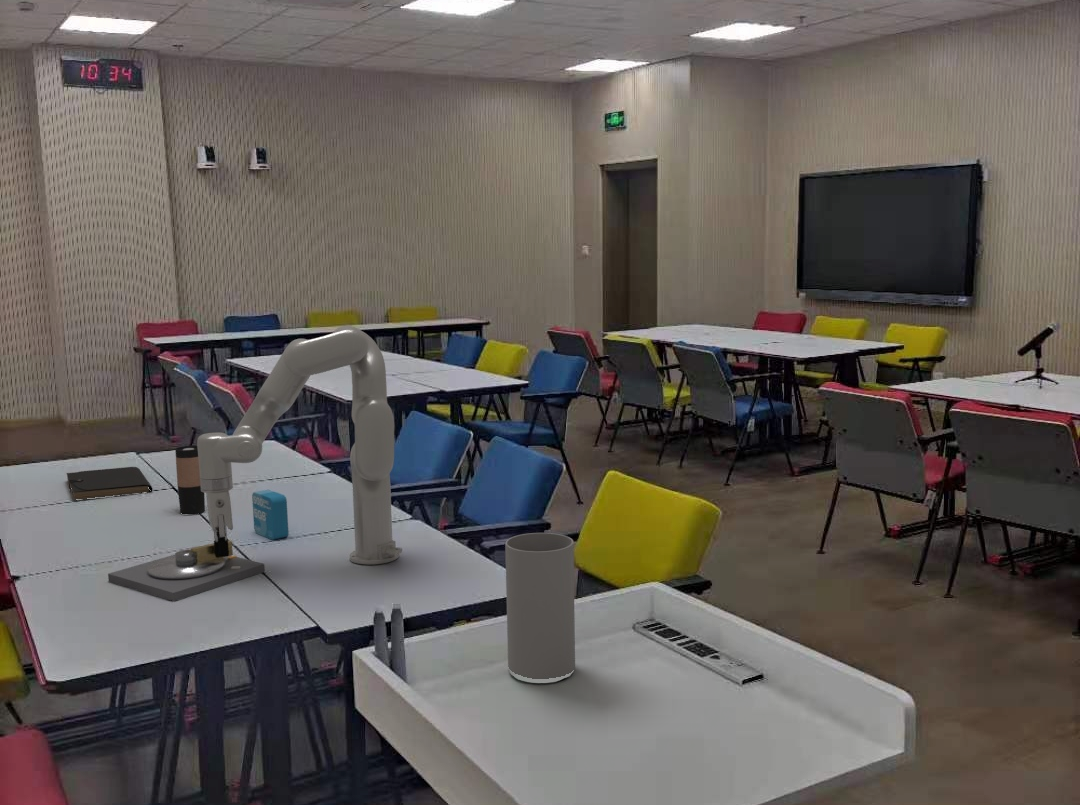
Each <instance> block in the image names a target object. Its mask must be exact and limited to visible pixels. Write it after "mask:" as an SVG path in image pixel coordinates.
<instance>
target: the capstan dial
mask: <svg viewBox="0 0 1080 805" xmlns="http://www.w3.org/2000/svg"><path fill="white" fill-rule="evenodd" d="M227 540H228V548H229V556H234V554H233V541H232V540H230V539H227ZM174 555H175V556H171V555H170V556H171V557H168V556H166V557H167V558H164V557H162V558H163V559H161V558H159V559H160V560H157V559H156V560H157V561H155V562H153V563H151V564H150V565H149V566H148V574H149V575H150V576H152V577H154V578H158V579H170V580H176V579H189V578H196V577H201V576H205V575H209V574H212V573H215V572H217V571H219V570H221V569H222V568H224V566H225V558H224V557H219V558H216V557H215V550H214V542H213V543H209V544H203V545H200V546H195V547H190V549H184V550H180V551H179V550H178V551H177V552H175V553H174Z"/></svg>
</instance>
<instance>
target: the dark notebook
mask: <svg viewBox="0 0 1080 805" xmlns="http://www.w3.org/2000/svg"><path fill="white" fill-rule="evenodd" d="M66 477H67V483H68V489H70V488H72V490H71V489H70V490H71V492H73V493H74V494H73V493H72V494H73V497H74V498H73V499H74V500H76V499H87V498H95V497H105V496H113V495H122V494H132V493H140V492H149V493H150V491H149V489H150V490H151V493H152V492H153V486H152V485H151V483H150V482H149V481H148V480H147V478H146V475H144V473H143V472H142V471H141V469H140V468H138V467H137V466H125V467H124V466H123V467H114V468H104V469H93V470H92V469H91V470H81V471H75V472H66ZM148 487H149V489H148Z"/></svg>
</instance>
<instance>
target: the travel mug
mask: <svg viewBox="0 0 1080 805" xmlns="http://www.w3.org/2000/svg"><path fill="white" fill-rule="evenodd" d="M174 450H175V452H174V453H175V464H176V465H175V466H176V482H177V493H178V502H179V504H178V505H179V512H180V513H179V514H181V513H182V514H196V515H199V514H198V513H201V514H203V513H205V512H204V511H206V508H205V507H206V504H205V502H206V501H205V498H206V497H205V492H202V491H201V485H200V472H199V460H198V447H197V445H184V446H183V445H182V446H178V447H176V448H175V449H174ZM182 514H181V515H182Z"/></svg>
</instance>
